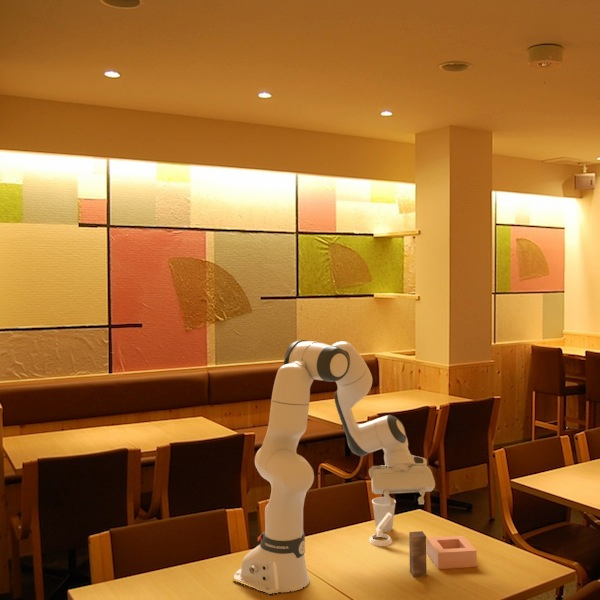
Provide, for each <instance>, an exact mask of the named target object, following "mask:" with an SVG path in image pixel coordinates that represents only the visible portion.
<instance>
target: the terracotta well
mask: <svg viewBox="0 0 600 600" xmlns="http://www.w3.org/2000/svg"><path fill="white" fill-rule="evenodd" d="M477 553H478V552H477V549H476V548H475V547H474V546H473V544H471V543H470V541H469V540H468V539H467V538H466V537H465V536H464V535H451V536H433V537H429V536H428V537H426V555H428V557H429V558H430V560H431V561H432V562H433V564H434V566H435V567H436V568H437V570H443V569H444V570H445V569H447V570H448V569H461V568H477V565H478V564H477V562H478V560H477V559H478V558H477Z"/></svg>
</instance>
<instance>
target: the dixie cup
mask: <svg viewBox="0 0 600 600" xmlns="http://www.w3.org/2000/svg"><path fill="white" fill-rule="evenodd" d="M391 499H392V497H391ZM394 502H395V505H394V506H389V501H388V500H387V499H386V498H385V497H384V496H379V497H375V498H372V499H371V503H372V509H373V515H374V523H375V525H374V526H375V528H376V527H377V526H378V525H379V523H380V522H381V521H382V520H383V518H384V517H385V516H386V515H387V513H390V514H391V515H392V518H391V519H390V520H389V522H388V523H387V524H386V525H385V526H384V528H383V533H388V531H389V532H391V530H393V529H394V528H393V527H394V518H395V517H394V516H395V509H396V503H397V500H396V499H394Z"/></svg>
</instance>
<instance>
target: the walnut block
mask: <svg viewBox="0 0 600 600" xmlns="http://www.w3.org/2000/svg"><path fill="white" fill-rule="evenodd" d="M408 535H409V542H408V543H409V573H410V574H411V576H412V577H413V578H420V577H427V535H426V533H424V531H423V530H421V531H409V533H408Z"/></svg>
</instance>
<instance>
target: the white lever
mask: <svg viewBox="0 0 600 600" xmlns="http://www.w3.org/2000/svg"><path fill="white" fill-rule="evenodd" d="M391 518H392V515H391V514H390V513H387V515H386V516H385V517H384V518H383V520H382V521H381V522H380V523H379V525H378V526H377V527H376V526H375V533H374V534H372V535H370V537H369V539H368V543H369V542H370V543H371V544H370V543H369V544H370V545H372V544H373V545H372V546H375V545H376V547H386V546H390V545H392V543H393V540H392V538H391V536H390V535H388V534H387V533H384V532H383V528H384V526H385V525H386V524H387V523H388V522H389V520H390V519H391ZM377 537H382V538H381V539H383V540H381V539H378V538H377ZM373 538H374V539H373ZM386 538H387V539H386Z"/></svg>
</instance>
